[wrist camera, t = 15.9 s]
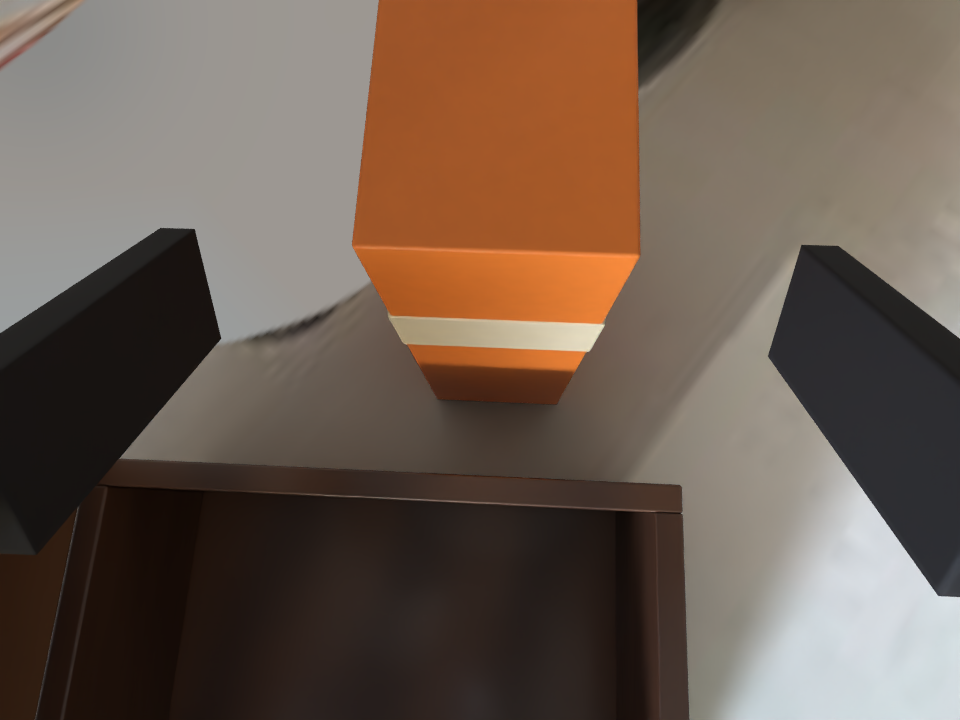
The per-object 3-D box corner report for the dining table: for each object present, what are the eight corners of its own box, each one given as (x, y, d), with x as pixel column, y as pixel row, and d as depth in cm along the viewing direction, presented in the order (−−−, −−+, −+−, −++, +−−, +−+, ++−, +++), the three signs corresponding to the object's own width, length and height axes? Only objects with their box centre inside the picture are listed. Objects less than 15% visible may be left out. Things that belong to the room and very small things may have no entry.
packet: (435, 400, 25) (347, 249, 10) (447, 222, 27) (388, -116, 12) (558, 406, 25) (644, 259, 10) (562, 226, 27) (638, -114, 12)
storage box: (631, 491, 24) (682, 485, 17) (636, 896, 21) (701, 1079, 14) (197, 470, 25) (86, 456, 18) (136, 859, 21) (-27, 1016, 15)
